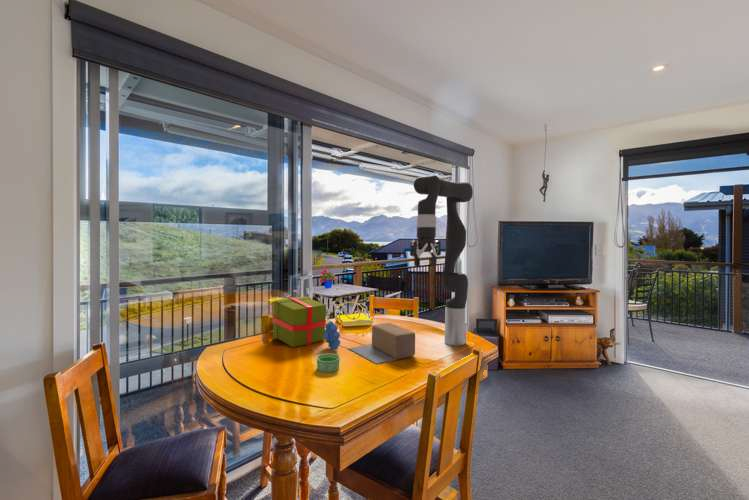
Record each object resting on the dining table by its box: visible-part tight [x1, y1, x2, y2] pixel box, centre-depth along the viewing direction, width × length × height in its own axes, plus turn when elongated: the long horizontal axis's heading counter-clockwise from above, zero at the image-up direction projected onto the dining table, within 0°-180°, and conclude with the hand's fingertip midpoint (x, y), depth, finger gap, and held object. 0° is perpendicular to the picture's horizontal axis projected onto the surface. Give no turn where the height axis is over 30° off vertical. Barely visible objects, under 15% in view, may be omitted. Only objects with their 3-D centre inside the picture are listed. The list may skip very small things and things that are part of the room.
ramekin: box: [315, 353, 341, 373], centre depth 139 cm, size 9×9×4 cm
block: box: [371, 322, 416, 360], centre depth 159 cm, size 10×10×20 cm
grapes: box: [324, 321, 341, 351], centre depth 162 cm, size 12×7×12 cm, turn 36°
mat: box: [348, 343, 412, 365], centre depth 159 cm, size 18×22×1 cm
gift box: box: [272, 296, 327, 348], centre depth 176 cm, size 21×21×25 cm
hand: (425, 266), depth 148 cm, fingers open, 8 cm apart
